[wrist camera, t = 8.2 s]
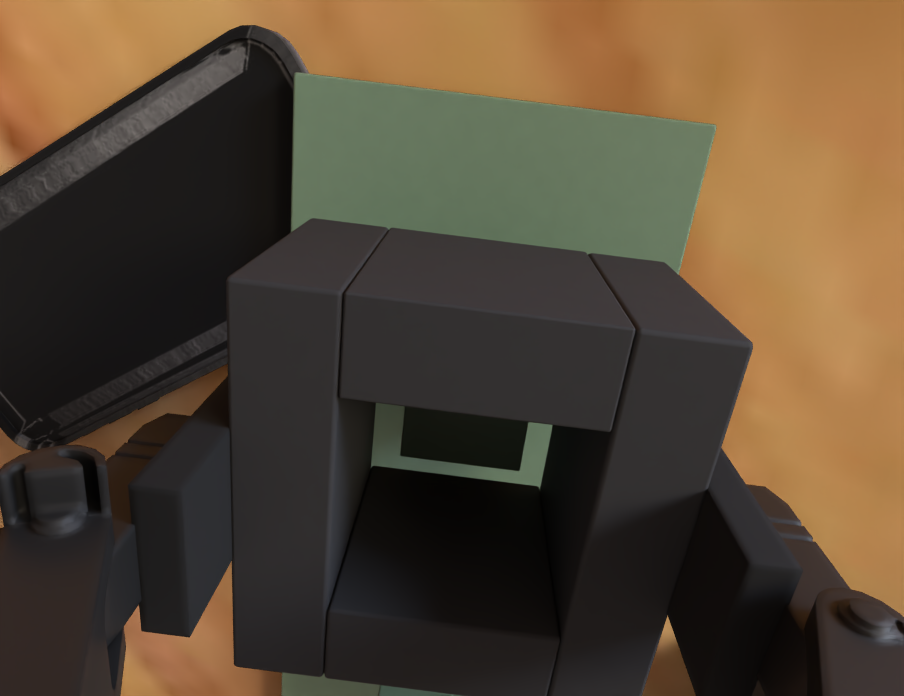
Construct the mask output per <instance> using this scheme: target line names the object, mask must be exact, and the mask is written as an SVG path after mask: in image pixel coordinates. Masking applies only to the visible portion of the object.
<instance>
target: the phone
mask: <svg viewBox="0 0 904 696" xmlns="http://www.w3.org/2000/svg"><path fill="white" fill-rule="evenodd" d="M296 72H299V73H307V74H309V72H308V70H307V69H306V67H305V65H304V63H303V61H302V60H301V58H300V56H299V54H298V53H297V51H296V50H295V48H294V47H293V46H292V44H291V43H290V42H289V41H288V40H287V39H285V38H284V37H283V36H281V35H280V34H279V33H277V32H274V31H271V30H268V29H265V28H262V27H259V26H256V25H242V26H239V27H236V28H234V29H231V30H229V31H227V32H226V33H224V34H223V35H221V36H219V37H218V38H216V39H215V40H213V41H212V42H210V43H209V44H207V45H205V46H204V47H202V48H201V49H199V50H198V51H196V52H194V53H193V54H191V55H190V56H188V57H187V58H185V59H183V60H182V61H180V62H179V63H177V64H176V65H174V66H173V67H171V68H169V69H168V70H166V71H165V72H163V73H162V74H160V75H158V76H157V77H155V78H154V79H152V80H151V81H149V82H147V83H146V84H144V85H143V86H141V87H140V88H138V89H137V90H135V91H133V92H132V93H130V94H129V95H127V96H126V97H124V98H122V99H121V100H119V101H118V102H116V103H115V104H113V105H111V106H110V107H108V108H107V109H105V110H104V111H102V112H101V113H99V114H97V115H96V116H94V117H93V118H91V119H90V120H88V121H86V122H85V123H83V124H82V125H80V126H79V127H77V128H76V129H74V130H72V131H71V132H69V133H68V134H66V135H65V136H63V137H61V138H60V139H58V140H57V141H55V142H54V143H52V144H50V145H49V146H47V147H46V148H44V149H43V150H41V151H40V152H38V153H36V154H35V155H33V156H32V157H30V158H29V159H27V160H25V161H24V162H22V163H21V164H19V165H18V166H16V167H14V168H13V169H11V170H10V171H8V172H7V173H5V174H4V175H2V176H0V428H1V429H2V430H3V431H4V432H5V434H6V435H7V436H8V437H9V438H10V439H11V440H13V441H14V442H15V443H16V444H18V445H19V446H21V447H23V448H25V449H27V450H30V451H34V450H37V449H41V448H47V447H53V446H59V445H66V444H68V443H70V442H72V441H74V440H76V439H78V438H80V437H82V436H85V435H87V434H89V433H91V432H93V431H95V430H96V429H98V428H100V427H102V426H104V425H106V424H108V423H109V424H110V423H112V422H114V421H116V420H118V419H120V418H122V417H124V416H126V415H128V414H130V413H131V412H132V411H134V410H136V409H138V410H139V409H141V408H143V407H145V406H147V405H149V404H151V403H153V402H155V401H157V400H158V399H159V398H160V397H162V396H164V395H166V394H168V393H170V392H172V391H174V390H176V389H178V388H180V387H182V386H184V385H186V384H188V383H190V382H192V381H194V380H196V379H198V378H200V377H202V376H204V375H206V374H208V373H210V372H212V371H214V370H216V369H218V368H220V367H222V366H224V365H226V364H228V356H227V308H226V280H227V277H228V276H230V275H231V274H233V273H234V272H235V271H237V270H238V269H240V268H241V267H243V266H244V265H245V264H247V263H248V262H250V261H251V260H253V259H254V258H255V257H257V256H258V255H260V254H261V253H262V252H264V251H265V250H267V249H268V248H270V247H271V246H272V245H274V244H275V243H277V242H278V241H280V240H281V239H282V238H284V237H285V236H287V235H288V234H289V233H291V193H292V143H293V94H294V74H295V73H296Z"/></svg>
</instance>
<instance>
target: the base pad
mask: <svg viewBox="0 0 904 696" xmlns="http://www.w3.org/2000/svg"><path fill="white" fill-rule="evenodd" d="M715 131H716V125H714V124H708V123H700V122H692V121H684V120H676V119H668V118H660V117H652V116H644V115H635V114H627V113H619V112H611V111H603V110H595V109H587V108H579V107H571V106H563V105H555V104H547V103H539V102H531V101H523V100H515V99H507V98H499V97H491V96H483V95H475V94H467V93H459V92H451V91H443V90H435V89H427V88H419V87H411V86H403V85H395V84H387V83H379V82H371V81H363V80H355V79H347V78H339V77H331V76H323V75H315V74H307V73H299V72H296V73H295V74H294V94H293V143H292V193H291V232H292V231H294V230H295V229H297V228H298V227H299V226H301V225H302V224H304V223H305V222H307V221H308V220H309V219H312V218H317V219H325V220H333V221H341V222H349V223H357V224H365V225H373V226H381V227H386V228H388V229H389V230H390V228H400V229H408V230H416V231H424V232H432V233H440V234H448V235H456V236H464V237H471V238H479V239H487V240H495V241H503V242H511V243H519V244H527V245H535V246H543V247H551V248H559V249H567V250H575V251H583V252H586V253H587V255H588V254H590V253H596V254H604V255H612V256H620V257H628V258H636V259H644V260H652V261H660V262H665V263H666V264H667V265H669V266H670V267H671V268H672V269H673V270H674V271H675V272H676V273H677V274H678V275H679V271H680V267H681V263H682V259H683V255H684V252H685V248H686V244H687V240H688V236H689V232H690V228H691V224H692V220H693V217H694V213H695V209H696V205H697V201H698V197H699V193H700V189H701V186H702V182H703V178H704V174H705V170H706V166H707V162H708V158H709V154H710V151H711V147H712V143H713V139H714V135H715ZM552 426H553V425H549V424H541V423H533V422H525V421H517V420H509V419H501V418H493V417H485V416H477V415H469V414H461V413H453V412H446V411H438V410H430V409H422V408H414V407H406V406H398V405H390V404H382V403H376V410H375V422H374V435H373V448H372V461H371V467H372V466H382V467H390V468H398V469H406V470H414V471H422V472H429V473H437V474H445V475H453V476H461V477H469V478H477V479H485V480H493V481H501V482H509V483H517V484H525V485H533V486H538V487H539V489H540V486H541V481H542V476H543V471H544V466H545V461H546V456H547V451H548V446H549V441H550V436H551V431H552ZM281 696H462V695H454V694H446V693H438V692H430V691H422V690H414V689H407V688H399V687H391V686H383V685H375V684H367V683H359V682H351V681H344V680H336V679H328V678H326V677H325V675H324V674H323V675H322V676H321V677H314V676H306V675H298V674H290V673H282V692H281Z"/></svg>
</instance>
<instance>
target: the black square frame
mask: <svg viewBox="0 0 904 696" xmlns="http://www.w3.org/2000/svg"><path fill="white" fill-rule="evenodd" d="M226 308H227V356H228V403H229V429H230V465H231V514H232V593H233V641H234V665H235V666H237V667H243V668H251V669H259V670H267V671H274V672H282V673H290V674H298V675H306V676H314V677H321V676H322V675H323V674H324V675H325V677H326V678H328V679H336V680H344V681H351V682H359V683H367V684H375V685H383V686H391V687H399V688H407V689H414V690H422V691H430V692H438V693H446V694H454V695H462V696H642V693H643V690H644V687H645V684H646V681H647V678H648V674H649V671H650V668H651V665H652V662H653V659H654V656H655V653H656V649H657V646H658V643H659V640H660V637H661V634H662V631H663V628H664V624H665V621H666V618H667V615H668V614H667V613H668V610H669V607H670V604H671V601H672V598H673V595H674V592H675V588H676V585H677V582H678V579H679V576H680V573H681V570H682V566H683V563H684V560H685V557H686V554H687V551H688V548H689V545H690V541H691V538H692V535H693V532H694V529H695V526H696V523H697V520H698V516H699V513H700V510H701V507H702V504H703V501H704V498H705V495H706V491H707V489H708V487H709V484H710V481H711V478H712V474H713V471H714V468H715V465H716V462H717V459H718V456H719V453H720V449H721V446H722V443H723V440H724V437H725V434H726V431H727V428H728V424H729V421H730V418H731V415H732V412H733V409H734V406H735V403H736V399H737V396H738V393H739V390H740V387H741V384H742V381H743V378H744V374H745V371H746V368H747V365H748V362H749V359H750V356H751V353H752V349H753V344H752V342H751V341H750V340H749V339H748V338H747V337H745V336H744V335H743V334H742V333H741V332H740V331H739V330H738V329H737V328H736V327H735V326H734V325H732V324H731V323H730V322H729V321H728V320H727V319H726V318H725V317H724V316H723V315H722V314H721V313H719V312H718V311H717V310H716V309H715V308H714V307H713V306H712V305H711V304H710V303H709V302H708V301H706V300H705V299H704V298H703V297H702V296H701V295H700V294H699V293H698V292H697V291H696V290H695V289H693V288H692V287H691V286H690V285H689V284H688V283H687V282H686V281H685V280H684V279H683V278H682V277H680V276H679V275H678V274H677V273H676V272H675V271H674V270H673V269H672V268H671V267H670V266H669V265H667V264H666V263H665V262H660V261H652V260H644V259H636V258H628V257H620V256H612V255H604V254H596V253H590V254H588V255H587V253H586V252H583V251H575V250H567V249H559V248H551V247H543V246H535V245H527V244H519V243H511V242H503V241H495V240H487V239H479V238H471V237H464V236H456V235H448V234H440V233H432V232H424V231H416V230H408V229H400V228H390V230H389V229H388V228H386V227H381V226H373V225H365V224H357V223H349V222H341V221H333V220H325V219H317V218H312V219H309V220H308V221H307V222H305V223H304V224H302V225H301V226H299V227H298V228H297V229H295V230H294V231H292V232H291V233H289V234H288V235H287V236H285V237H284V238H282V239H281V240H280V241H278V242H277V243H275V244H274V245H272V246H271V247H270V248H268V249H267V250H265V251H264V252H262V253H261V254H260V255H258V256H257V257H255V258H254V259H253V260H251V261H250V262H248V263H247V264H245V265H244V266H243V267H241V268H240V269H238V270H237V271H235V272H234V273H233V274H231V275H230V276H228V277H227V280H226ZM376 403H382V404H390V405H398V406H406V407H414V408H422V409H430V410H438V411H446V412H453V413H461V414H469V415H477V416H485V417H493V418H501V419H509V420H517V421H525V422H533V423H541V424H549V425H553V426H552V431H551V436H550V441H549V446H548V451H547V456H546V461H545V466H544V471H543V476H542V481H541V486H540V489H539V487H538V486H533V485H525V484H517V483H509V482H501V481H493V480H485V479H477V478H469V477H461V476H453V475H445V474H437V473H429V472H422V471H414V470H406V469H398V468H390V467H382V466H372V467H371V461H372V448H373V435H374V422H375V410H376Z"/></svg>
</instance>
